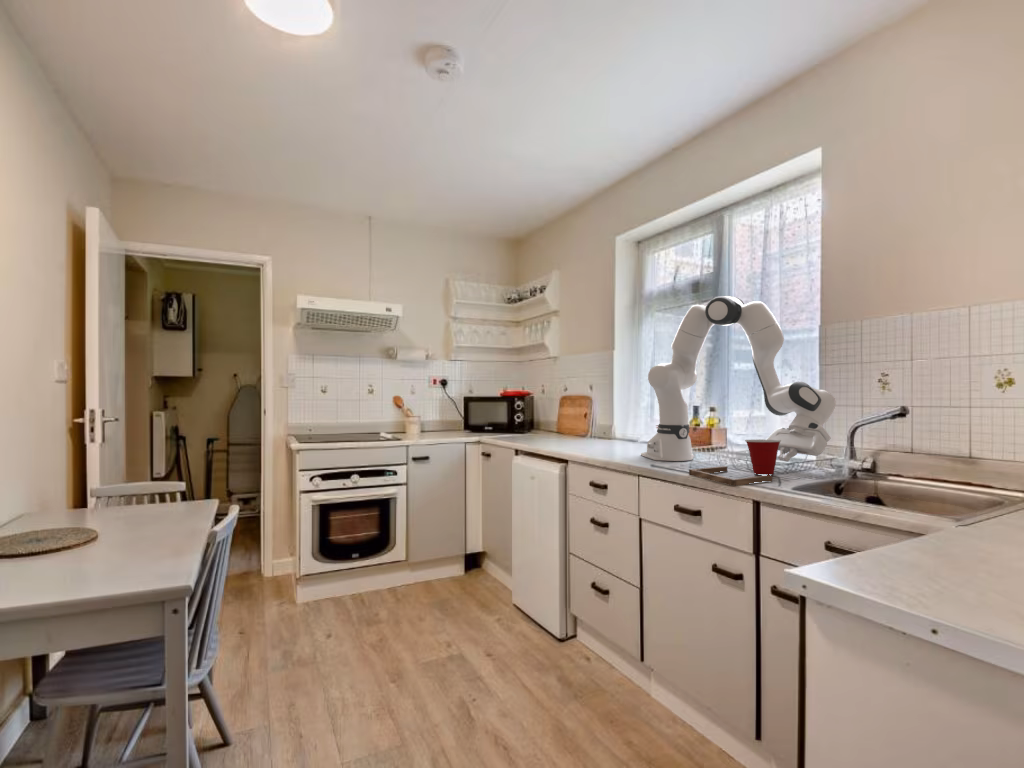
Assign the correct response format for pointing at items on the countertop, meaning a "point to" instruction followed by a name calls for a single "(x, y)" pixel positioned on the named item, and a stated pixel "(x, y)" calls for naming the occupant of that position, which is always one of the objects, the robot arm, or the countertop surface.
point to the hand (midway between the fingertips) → (782, 459)
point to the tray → (733, 482)
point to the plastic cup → (763, 455)
